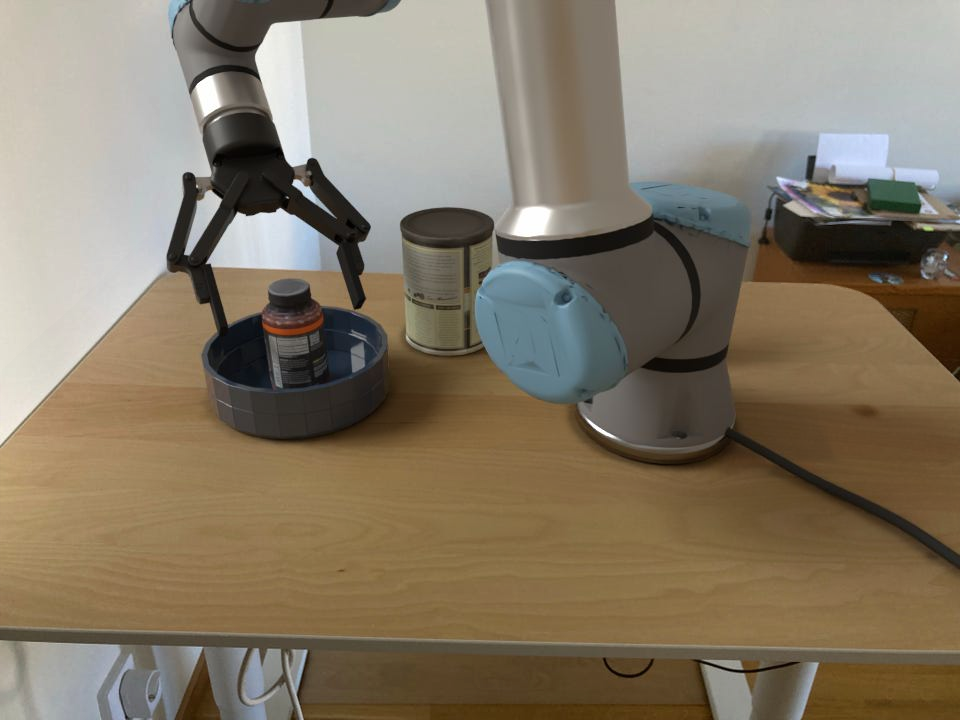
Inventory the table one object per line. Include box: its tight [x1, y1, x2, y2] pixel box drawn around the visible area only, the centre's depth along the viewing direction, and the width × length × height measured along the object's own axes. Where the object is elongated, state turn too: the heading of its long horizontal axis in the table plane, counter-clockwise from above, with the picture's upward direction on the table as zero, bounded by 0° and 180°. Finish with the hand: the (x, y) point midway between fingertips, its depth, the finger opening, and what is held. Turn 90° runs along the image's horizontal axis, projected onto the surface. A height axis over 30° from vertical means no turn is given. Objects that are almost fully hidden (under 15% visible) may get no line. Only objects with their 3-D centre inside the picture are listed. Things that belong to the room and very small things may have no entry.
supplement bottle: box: [261, 277, 329, 389], centre depth 78 cm, size 6×6×11 cm
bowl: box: [200, 305, 391, 440], centre depth 79 cm, size 18×18×6 cm
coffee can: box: [399, 206, 495, 357], centre depth 88 cm, size 10×10×14 cm
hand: (294, 318), depth 76 cm, fingers open, 13 cm apart
